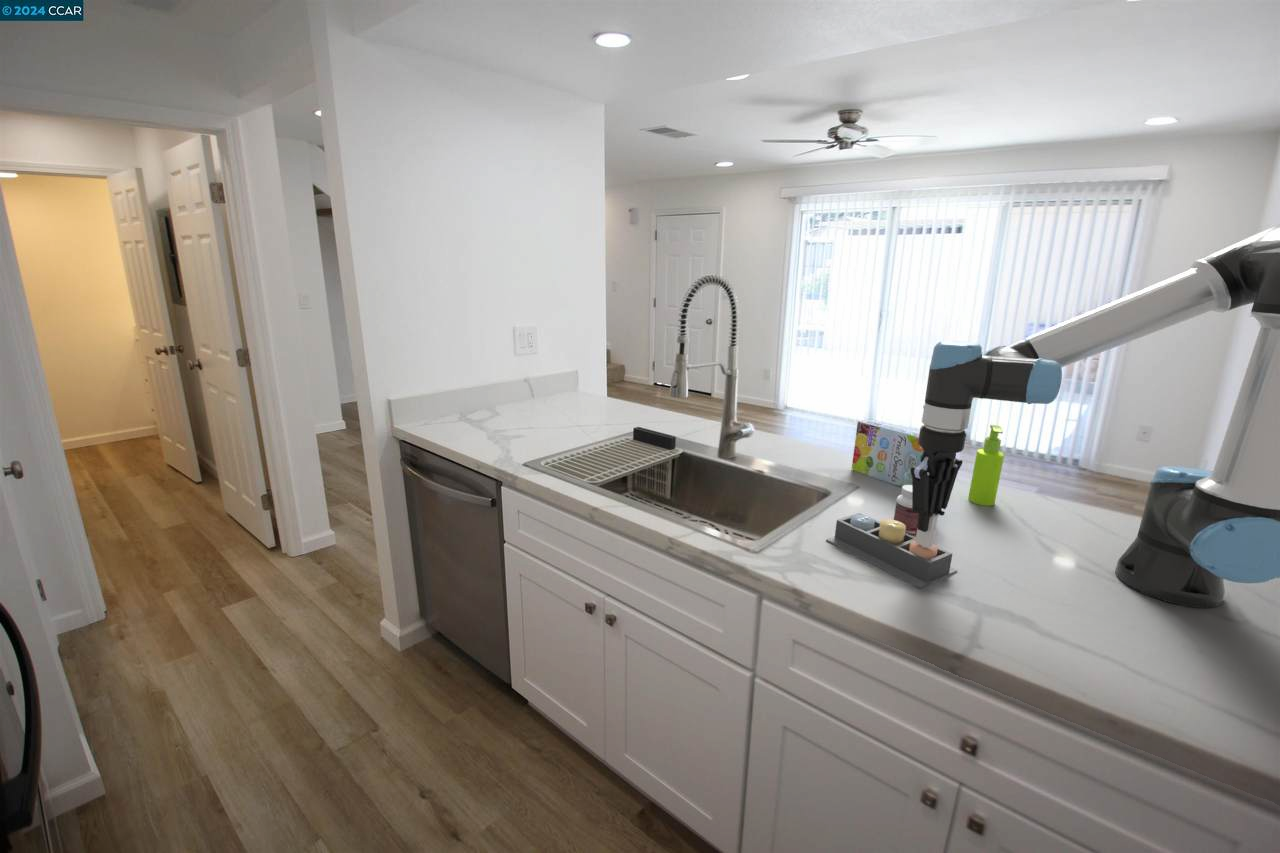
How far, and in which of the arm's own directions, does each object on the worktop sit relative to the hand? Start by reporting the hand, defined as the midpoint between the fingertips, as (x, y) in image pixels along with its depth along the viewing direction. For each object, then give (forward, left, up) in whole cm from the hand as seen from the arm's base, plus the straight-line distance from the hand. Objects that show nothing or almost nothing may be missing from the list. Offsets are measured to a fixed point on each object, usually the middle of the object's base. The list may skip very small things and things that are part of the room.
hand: (923, 544), depth 111 cm
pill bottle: (+11, -12, -6) cm, 17 cm away
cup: (+16, -23, -6) cm, 29 cm away
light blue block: (+14, 0, -5) cm, 15 cm away
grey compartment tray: (+7, 0, -6) cm, 9 cm away
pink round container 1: (0, 0, -5) cm, 5 cm away
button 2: (+7, 0, -3) cm, 8 cm away
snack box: (+35, -39, -6) cm, 53 cm away
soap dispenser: (+13, -46, -6) cm, 48 cm away
